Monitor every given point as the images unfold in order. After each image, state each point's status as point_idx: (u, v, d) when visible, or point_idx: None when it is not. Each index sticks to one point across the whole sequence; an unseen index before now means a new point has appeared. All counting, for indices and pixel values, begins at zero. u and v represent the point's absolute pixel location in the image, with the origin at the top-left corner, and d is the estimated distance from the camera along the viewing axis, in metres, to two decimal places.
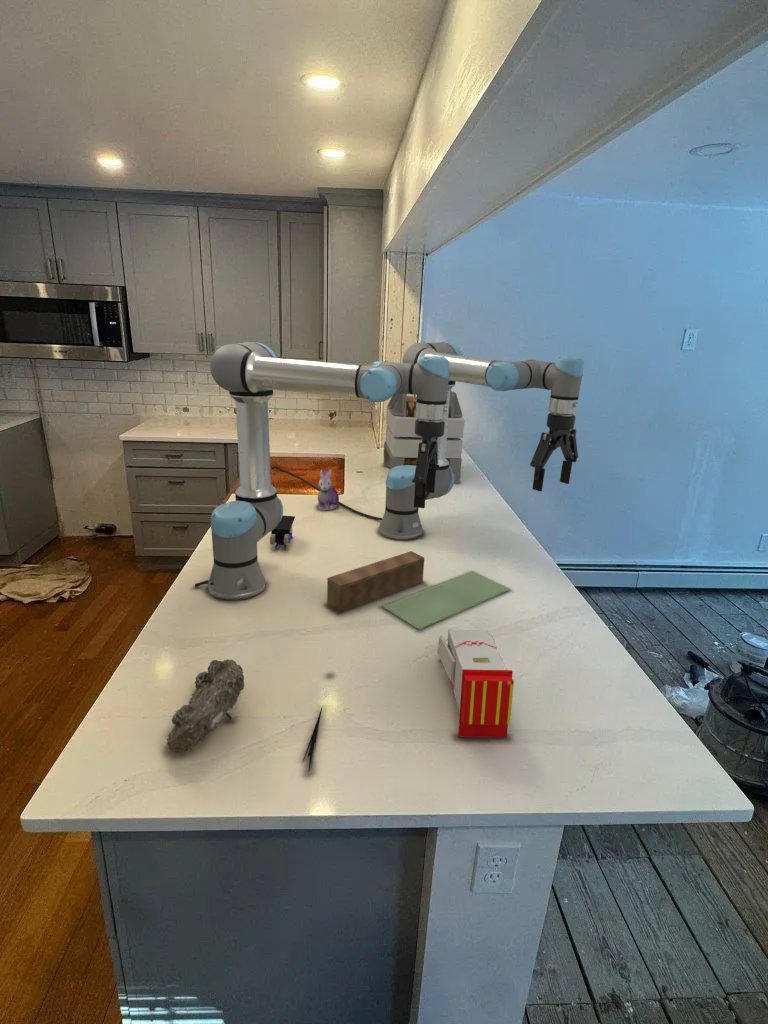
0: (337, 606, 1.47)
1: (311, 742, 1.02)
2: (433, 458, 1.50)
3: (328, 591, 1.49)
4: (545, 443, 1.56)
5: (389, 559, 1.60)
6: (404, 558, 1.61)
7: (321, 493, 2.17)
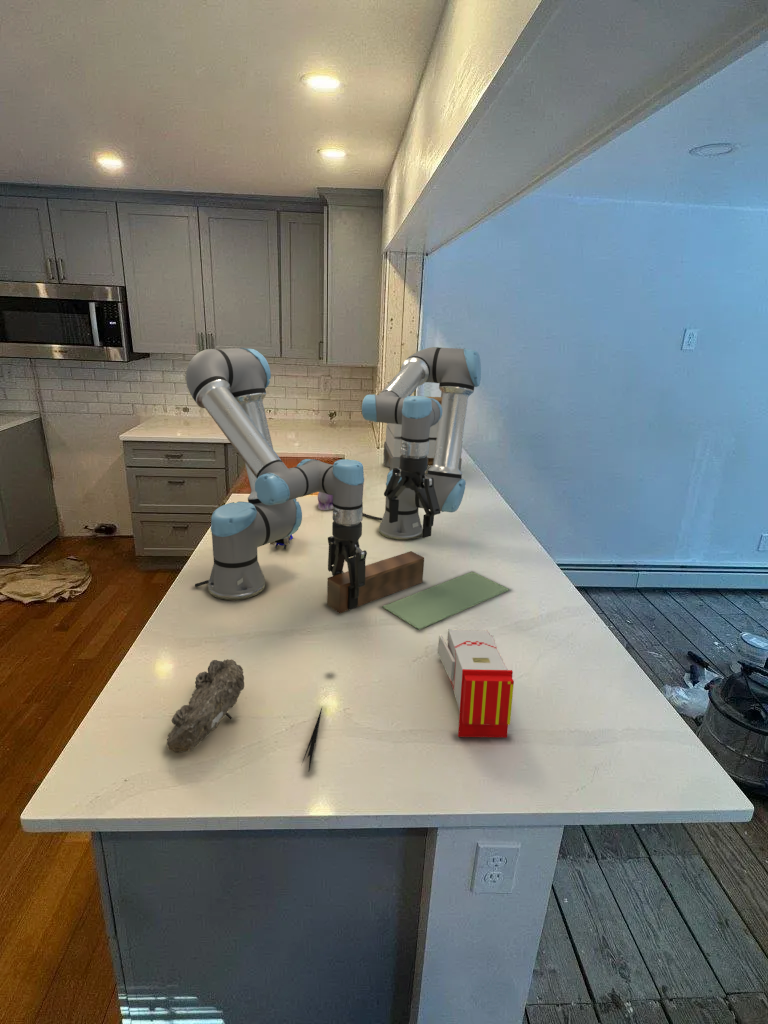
0: (337, 606, 1.47)
1: (311, 742, 1.02)
2: None
3: (328, 591, 1.49)
4: None
5: (389, 559, 1.60)
6: (404, 558, 1.61)
7: (321, 493, 2.17)
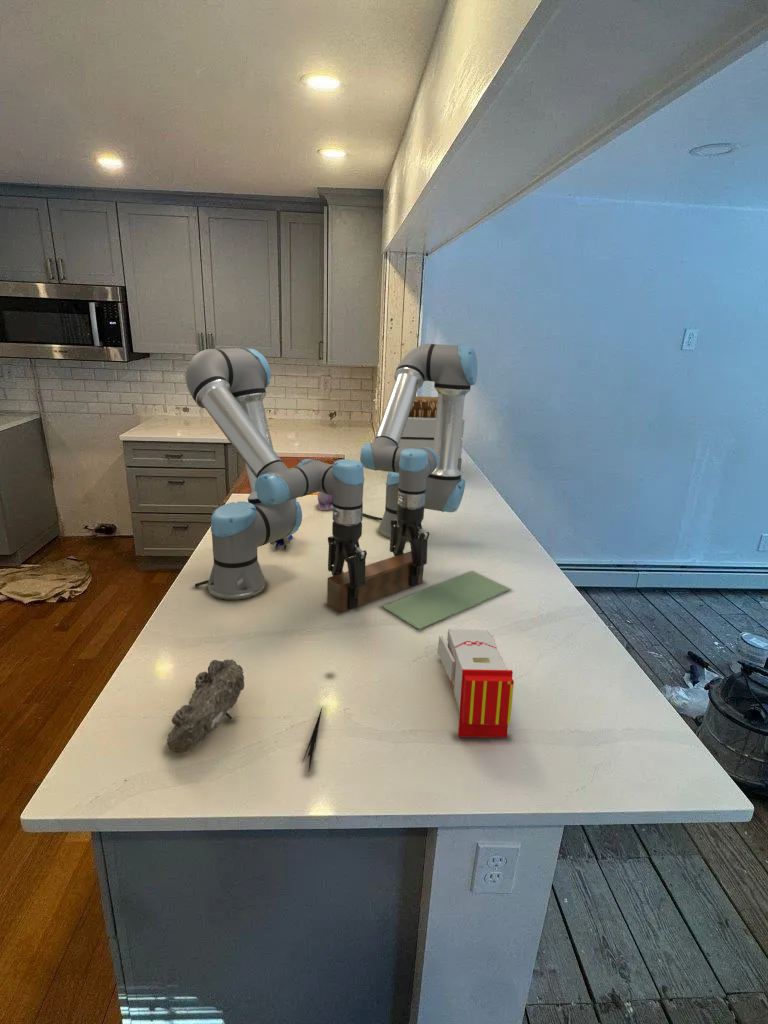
0: (337, 606, 1.47)
1: (311, 742, 1.02)
2: None
3: (328, 591, 1.49)
4: None
5: (389, 559, 1.60)
6: (404, 558, 1.61)
7: (321, 493, 2.17)
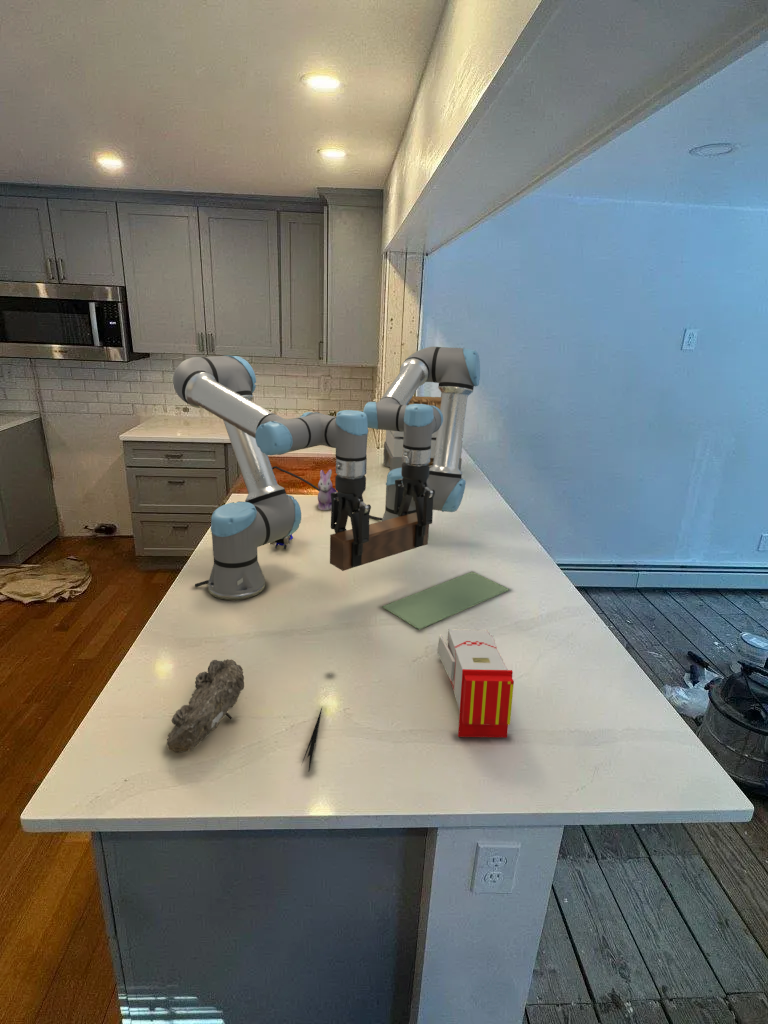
0: (340, 563, 1.42)
1: (311, 742, 1.02)
2: None
3: (331, 548, 1.44)
4: None
5: (393, 519, 1.56)
6: (409, 518, 1.57)
7: (321, 493, 2.17)
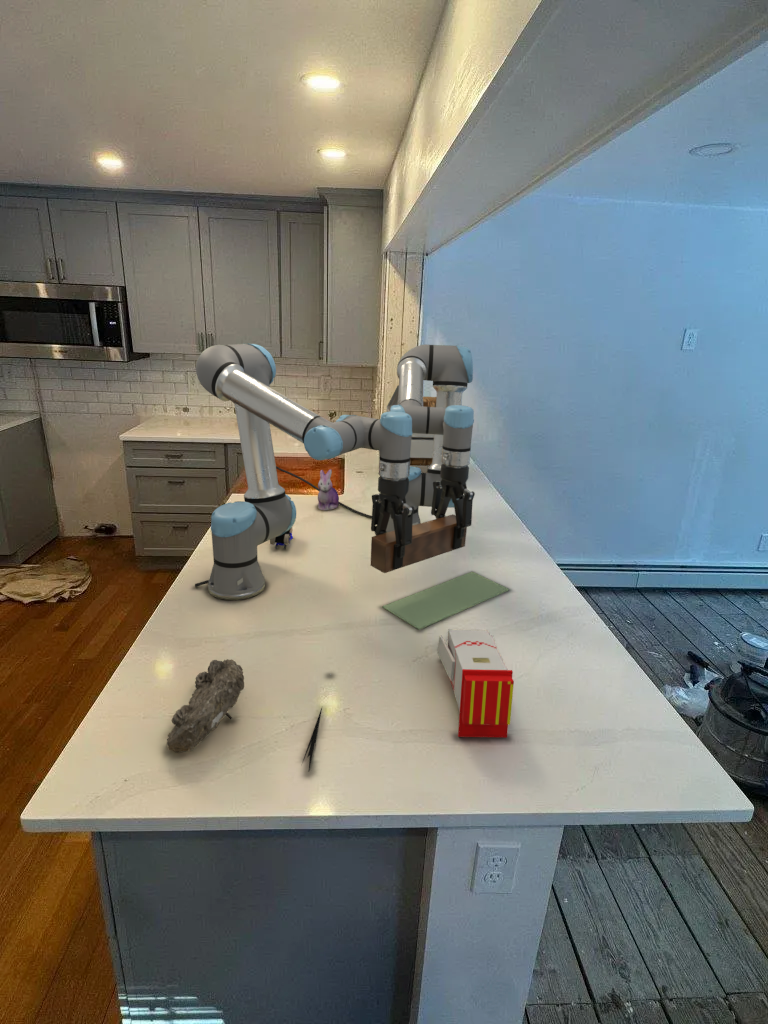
0: (382, 565, 1.41)
1: (311, 742, 1.02)
2: None
3: (372, 551, 1.44)
4: None
5: (432, 521, 1.55)
6: (447, 520, 1.56)
7: (321, 493, 2.17)
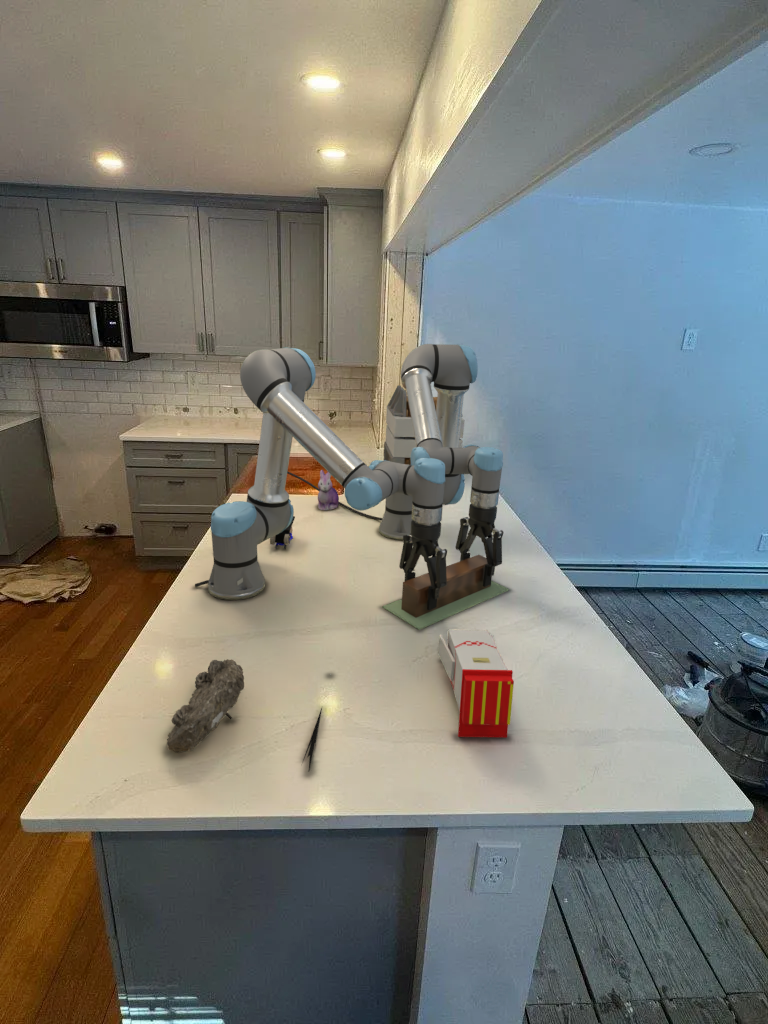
0: (413, 610, 1.45)
1: (311, 742, 1.02)
2: None
3: (403, 595, 1.47)
4: None
5: (459, 563, 1.59)
6: (474, 562, 1.60)
7: (321, 493, 2.17)
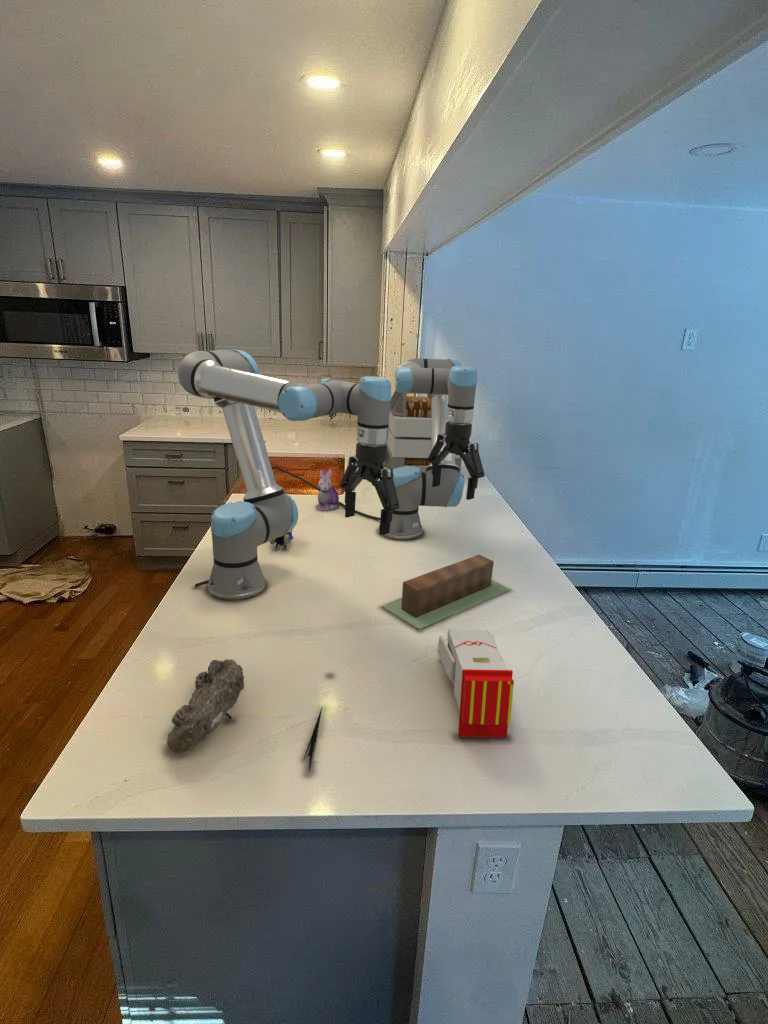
0: (413, 610, 1.45)
1: (311, 742, 1.02)
2: None
3: (403, 595, 1.47)
4: None
5: (459, 563, 1.59)
6: (474, 562, 1.60)
7: (321, 493, 2.17)
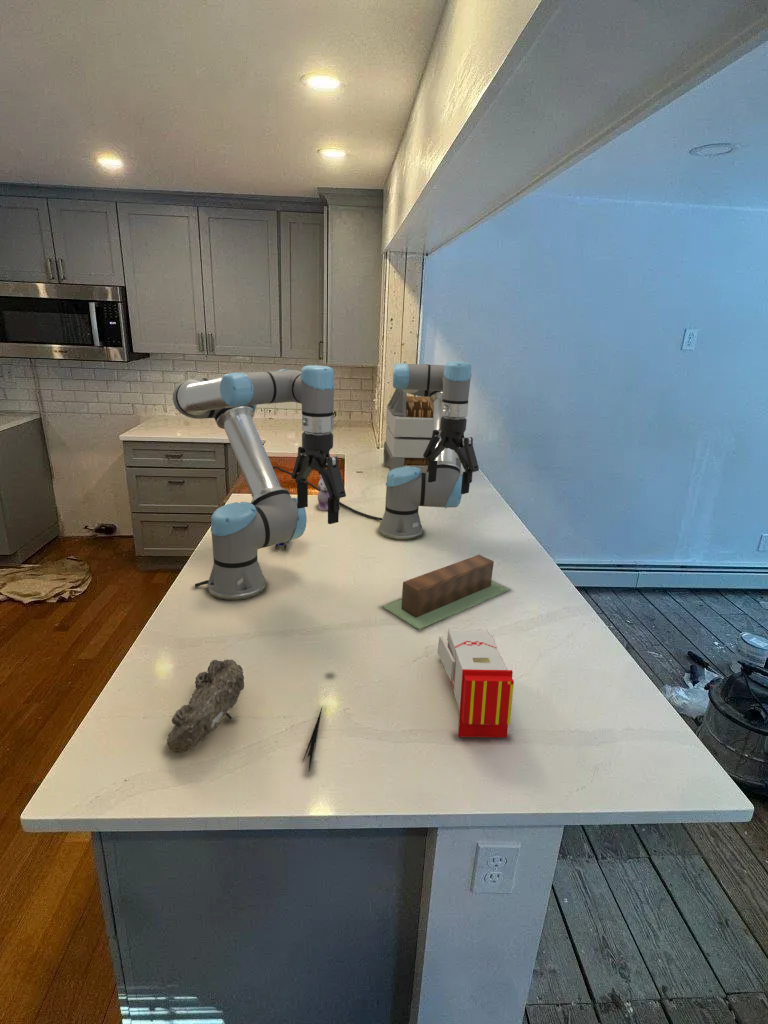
0: (413, 610, 1.45)
1: (311, 742, 1.02)
2: None
3: (403, 595, 1.47)
4: None
5: (459, 563, 1.59)
6: (474, 562, 1.60)
7: (321, 493, 2.17)
